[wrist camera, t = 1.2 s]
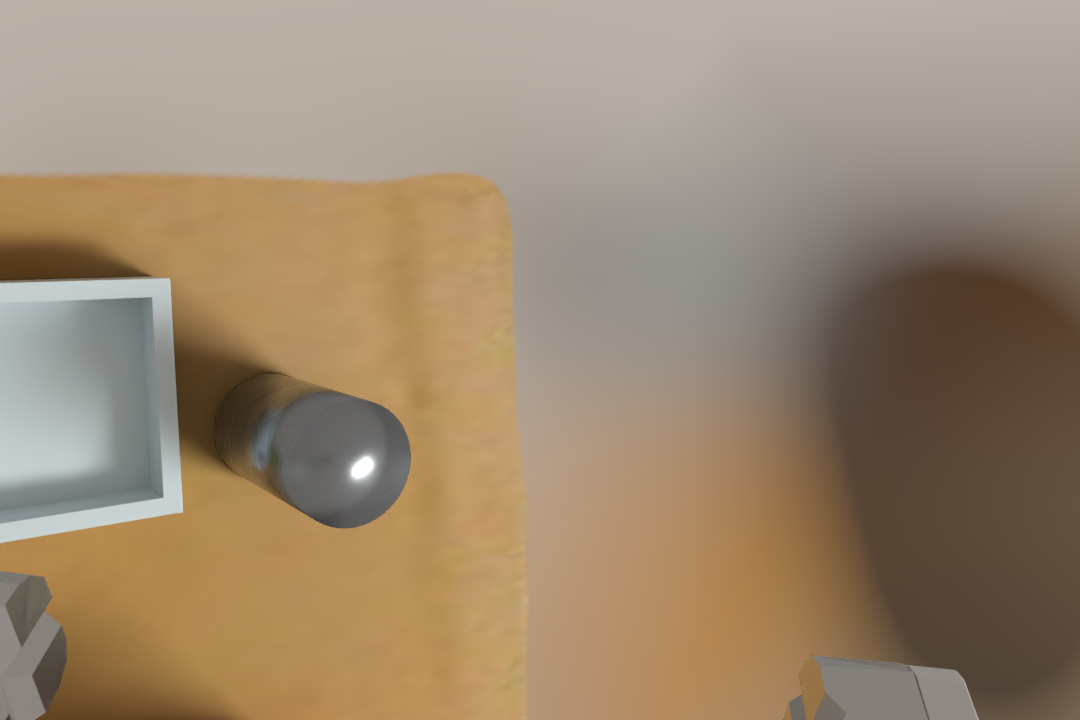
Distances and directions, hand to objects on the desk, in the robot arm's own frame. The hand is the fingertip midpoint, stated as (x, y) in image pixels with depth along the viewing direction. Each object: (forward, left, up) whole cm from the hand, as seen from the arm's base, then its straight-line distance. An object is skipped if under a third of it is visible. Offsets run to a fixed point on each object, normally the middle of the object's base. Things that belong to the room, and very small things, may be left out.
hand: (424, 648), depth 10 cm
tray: (+1, -3, -38) cm, 38 cm away
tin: (+12, -5, -38) cm, 40 cm away
